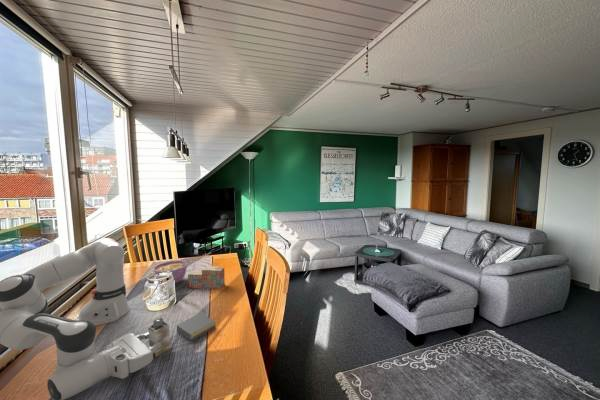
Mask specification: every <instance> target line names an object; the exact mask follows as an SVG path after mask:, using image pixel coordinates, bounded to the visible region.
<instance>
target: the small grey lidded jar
mask: <svg viewBox="0 0 600 400" xmlns="http://www.w3.org/2000/svg"><path fill="white" fill-rule="evenodd" d="M163 325H164V327H161V328H159V329H157V330H154V323H152V324H151V325H148V327H147V329H148V331H147V332H149V338H148V341H149V342H148V343H149V347H152V346H154V345H155V343H156V342H158V341H160V342H161V347H159V348H157V349H156V350H155V352H154V353H153V355H154V357H155V358H157V357H158V356H161V355H163V354H164V353H165V352H167V351H169V350H171V349H172V344H171V333H170V332H171V331H170V324H169V323H168V322H166V321H165V320H164V319H163Z"/></svg>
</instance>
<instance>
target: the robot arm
mask: <svg viewBox="0 0 600 400" xmlns="http://www.w3.org/2000/svg"><path fill="white" fill-rule="evenodd" d="M124 249H125V248H124V247H123V246H122V244H120V243H119V242H118V241H116V240H115V239H113V238H111V237H105V238H104V237H103V238H100V239H97V240H95V241H93V242H92V243H89V244H87V245H85V246H83V247H81V248H79V249H78V250H77V249H76V250H74V251H72V252H70V253H67V254H64V255H62V256H60V257H56V258H54V259H52V260H49V261H46V262H44V263H41V264H40V265H37V266H36V267H33V268H31V269H29V270H27V271H26V272H24V273H23V274H16V275H15V274H14V275H12V276H8V277H6V278H4V279H2V280H0V309H1V310H0V345H2V346H4V347H6V348H8V349H11V350H14V351H15V350H16V351H23V350H26V349H29V348H32V347H34V346H36V345H37V344H39V343H40V342H41V341H42V340H44V339H45V337H50V338H53V340H54V342H55V345H56V358H57V360H56V361H57V363H56V364H55V368H54V371H53V373H52V375H51V377H50V378H48V379H47V383H46V384H47V385H46V386H47V390H48V392H49V393H48V394H49V396H50V397H51V399H53V400H66V399H69V398H71V397H74V396H75V395H78V394H79V393H81V392H84V391H85V390H87V389H88V388H91V387H92V386H94V385H95V384H96V383H97V382H99V381H102V380H105V379H108V378H109V377H114V378H119V379H121V380H125V378H127V377H129V375H130V374H131V373H135V372H137V371H139V370H141V369H143V368H145V367H146V366H147V365H150V364H151V363H152V362H153V360H154V354H153V353H154V352H155V350H156V349H157V348H159V347H161V342H160V341H158V342H156V343H155V345H154V346H152V347H150V346H147V345H146V343H144V342H143V341H142V340H147V339H148V340H149V331H147V332H145V333H142V334H141V333H140V334H136V335H135V334H134V333H133V332H128V333H126V334H124V335H122V336H120V337H118V338H116V339H115V340H113V341H112V342H111V343H110V344H108V345H107V347H106V348H105V349H103V350H102V351H98V353H95V348H96V347H95V346H96V345H95V343H96V342H95V341H96V340H95V339H96V335H97V334H96V333H97V327H96V326H99V325H100V326H101V325H103V324H104V325H105V324H109V323H113V322H116V321H118V320H119V319H120V318H122V317H123V316H125V315H126V314H128V313H129V312H130V310H131V307H130V305H129V303H128V299H127V286H126V284H125V278H124V263H125V262H124V261H125V250H124ZM95 266H96V270H95V271H96V273H95V278H96V288H94V289H91V292H90V293H91V294H92V299H90V300H89V301H88V302H87V303H86V304H84V305H83V306H82V307H81V308H80V311H79V314H78V316H77V317H75V319H71V318H67V317H64V316H59V315H55V314H51V313H46V312H47V311H48V309H49V304H48V300H47V299H46V298H45V295H44V294H43V292H44V291H45V290H47V288H51V287H54V286H57V285H59V284H61V283H64V282H67V281H68V280H71V279H73V278H75V277H78V276H80V275H82V274H85V273H86V272H88V271H89V270H90V269H92V268H93V267H95ZM129 373H130V374H129Z"/></svg>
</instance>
